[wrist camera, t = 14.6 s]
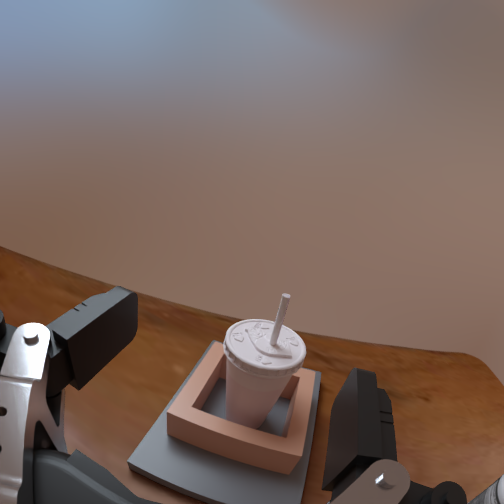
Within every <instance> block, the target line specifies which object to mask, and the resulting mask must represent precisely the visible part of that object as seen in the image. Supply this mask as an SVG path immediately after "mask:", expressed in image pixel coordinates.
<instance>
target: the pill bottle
mask: <svg viewBox="0 0 504 504" xmlns="http://www.w3.org/2000/svg"><path fill="white" fill-rule="evenodd" d="M467 504H504V474H503V475H502V476H501V477H500V478H499V479H498V480H496V481H495V482H494V483H493V484H492V485H490V486H489V487H488V488H487V489H486V490H484V491H483V492H482V493H481V494H479V495H478V496H477V497H475V498H474V499H473V500H471V501H470V502H469V503H467Z"/></svg>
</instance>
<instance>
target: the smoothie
mask: <svg viewBox="0 0 504 504" xmlns="http://www.w3.org/2000/svg"><path fill="white" fill-rule="evenodd" d="M289 299H290V295H288V294H283V295H282V298H281V302H280V306H279V309H278V313H277V317H276V320H275V322H273V321H268V320H262V319H249V320H243V321H240V322H237V323H235V324H234V325H232V326H231V327H230V328H229V329H228V331H227V333H226V337H225V340H224V343H223V349H224V353H225V355H226V357H227V362H226V411H225V416H226V419H227V420H228V421H231V422H234V423H237V424H240V425H243V426H246V427H249V428H252V429H257V428H259V427H260V426H261V425H262V423H263V422H264V420H265V419H266V417H267V415H268V414H269V412H270V411H271V409H272V408H273V406H274V404H275V403H276V401H277V400H278V398H279V396H280V395H281V393H282V391H283V390H284V388H285V387H286V385H287V383H288V382H289V380H290V378H291V377H292V375H293V374H294V373H296V372H297V371H298V370H299V369H300V368H301V367H302V364H303V361H304V358H305V355H306V347H305V344H304V342H303V340H302V339H301V338H300V336H299V335H297V334H296V333H295V332H294V331H293V330H291V329H290V328H288V327H286V326H284V325H282V324H283V320H284V317H285V313H286V310H287V306H288V303H289Z"/></svg>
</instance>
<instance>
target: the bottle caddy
mask: <svg viewBox="0 0 504 504" xmlns="http://www.w3.org/2000/svg"><path fill="white" fill-rule="evenodd" d="M226 362H227V357H226V355H225V353H224V349H223V343H221V342H218V341H215V340H213V341H212V343H211V344H210V345H209V347H208V348H207V350H206V351H205V353H204V354H203V355H202V357H201V358H200V360H199V361H198V363H197V364H196V366H195V367H194V368H193V370H192V371H191V373H190V374H189V375H188V377H187V378H186V380H185V381H184V383H183V384H182V385H181V387H180V388H179V390H178V391H177V392H176V394H175V395H174V397H173V398H172V400H171V401H170V402H169V404H168V405H167V407H166V408H165V409H164V411H163V412H162V414H161V415H160V416H159V418H158V419H157V420H156V422H155V423H154V425H153V426H152V427H151V429H150V430H149V432H148V433H147V434H146V436H145V437H144V438H143V440H142V441H141V443H140V444H139V445H138V447H137V448H136V449H135V451H134V452H133V454H132V455H131V456H130V458H129V459H128V460H127V463H128V466H129V468H130V469H132V470H133V471H135V472H137V473H139V474H141V475H143V476H145V477H147V478H149V479H151V480H153V481H155V482H157V483H159V484H162V485H164V486H166V487H168V488H170V489H173V490H175V491H177V492H180V493H182V494H185V495H187V496H190V497H192V498H195V499H197V500H200V501H203V502H205V503H208V504H300V503H301V498H302V493H303V488H304V484H305V478H306V473H307V468H308V462H309V457H310V451H311V445H312V439H313V432H314V425H315V418H316V411H317V404H318V396H319V387H320V379H321V372H318V371H314V370H310V369H306V368H303V367H301V368H300V369H299V370H298V371H297V372H296V373H294V374H293V375H292V377H291V378H290V380H289V382H288V383H287V385H286V387H285V388H284V390H283V391H282V393H281V395H280V396H279V398H278V400H277V401H276V403H275V404H274V406H273V408H272V409H271V411H270V412H269V414H268V415H267V417H266V419H265V420H264V422H263V423H262V425H261V426H260V427H259V428H257V429H252V428H249V427H246V426H243V425H240V424H237V423H234V422H231V421H228V420H227V419H226V416H225V411H226Z"/></svg>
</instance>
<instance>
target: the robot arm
mask: <svg viewBox="0 0 504 504" xmlns="http://www.w3.org/2000/svg"><path fill="white" fill-rule="evenodd" d="M137 326H138V297H137V294H136V293H134V292H132V291H130V290H128V289H125V288H123V287H121V286H117V287H115V288H113V289H112V290H110V291H109V292H107V293H106V294H105V293H102V294H98V295H95V296H91V297H90V298H88V299H87V300H85V301H84V302H82V304H79V305H77V306H76V307H74V309H71V310H70V311H68V312H67V313H65V314H64V315H62V316H60V317H59V318H57V319H56V320H54V321H53V322H51V323H50V324H48V325H47V326H43V325H41V324H38V323H28V324H25V325H22V326H20V327H19V328H17V327H14V326H12V325H9V324H6V323H5V320H4V316H3V313H2V311H1V310H0V504H161V503H157V502H153V501H149V500H145V499H142V498H139V497H137V496H136V495H134V494H133V493H132V492H131V491H130V490H129V489H127V488H126V487H125V486H124V485H123V484H122V483H121V482H120V481H118V480H117V479H116V478H115V477H114V476H113V475H112V474H111V473H110V472H109V471H108V470H107V469H105V468H104V467H102V466H101V465H99V464H97V463H96V462H94V461H93V460H91V459H90V458H88V457H87V456H86V455H84V454H83V453H81V452H80V451H78V450H77V449H76V450H75V451H74V452H73V453H72V455H70V454H68V453H67V447H66V443H65V439H64V407H65V387H66V386H67V385H68V384H70V385H72V386H73V387H75V388H76V389H77V390H80V389H81V388H82V387H83V386H85V385H86V384H87V383H88V382H89V381H90V380H91V379H92V378H93V377H94V376H95V375H96V374H97V373H98V372H99V371H100V370H101V369H102V368H103V367H104V366H106V365H107V364H108V363H109V362H110V361H111V360H112V359H113V358H114V357H115V356H116V355H117V354H118V353H119V352H120V351H121V350H123V349H124V348H125V347H126V346H127V345H128V344H129V343H130V342H131V341H132V340H133V338H134V337H135V335H136V332H137ZM393 423H394V422H393V415H392V406H391V400H390V399H389V397H388V395H387V393H386V392H385V390H384V389H380V388H377V380H376V374H375V372H371V371H367V370H363V369H358V368H353V369H352V371H351V372H350V374H349V376H348V378H347V379H346V381H345V383H344V385H343V386H342V388H341V390H340V392H339V393H338V395H337V397H336V399H335V401H334V403H333V406H332V410H331V418H330V429H329V438H328V447H327V455H326V463H325V470H324V477H323V484H322V490H326V491H332V498H331V500H330V501H329V502H328V503H326V504H467V498H466V494H465V492H464V490H463V489H462V487H461V486H460V485H458V484H457V483H455V482H451V481H445V482H442V483H440V484H439V485H437V486H436V487H435V488H429V487H426V486H423V485H421V484H418V483H415V482H413V481H411V480H410V476H409V474H408V472H407V470H406V469H405V468H404V466H402V465H401V464H400V463H398V462H397V452H396V441H395V431H394V425H393Z"/></svg>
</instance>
